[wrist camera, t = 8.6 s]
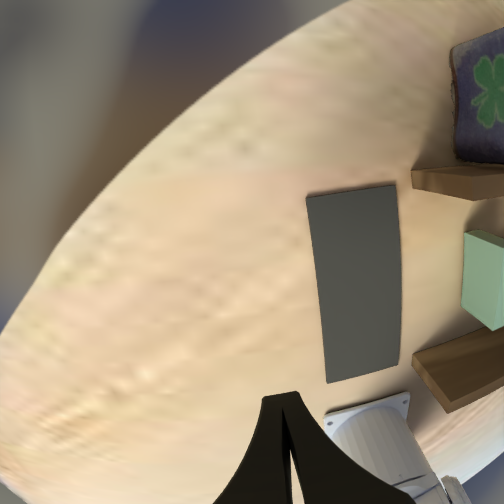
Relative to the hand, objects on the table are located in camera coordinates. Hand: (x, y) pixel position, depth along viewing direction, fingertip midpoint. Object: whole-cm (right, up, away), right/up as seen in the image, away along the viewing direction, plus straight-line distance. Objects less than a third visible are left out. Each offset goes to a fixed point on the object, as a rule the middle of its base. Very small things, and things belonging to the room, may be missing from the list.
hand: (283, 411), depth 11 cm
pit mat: (+6, +3, +10) cm, 12 cm away
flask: (+14, +17, +6) cm, 23 cm away
